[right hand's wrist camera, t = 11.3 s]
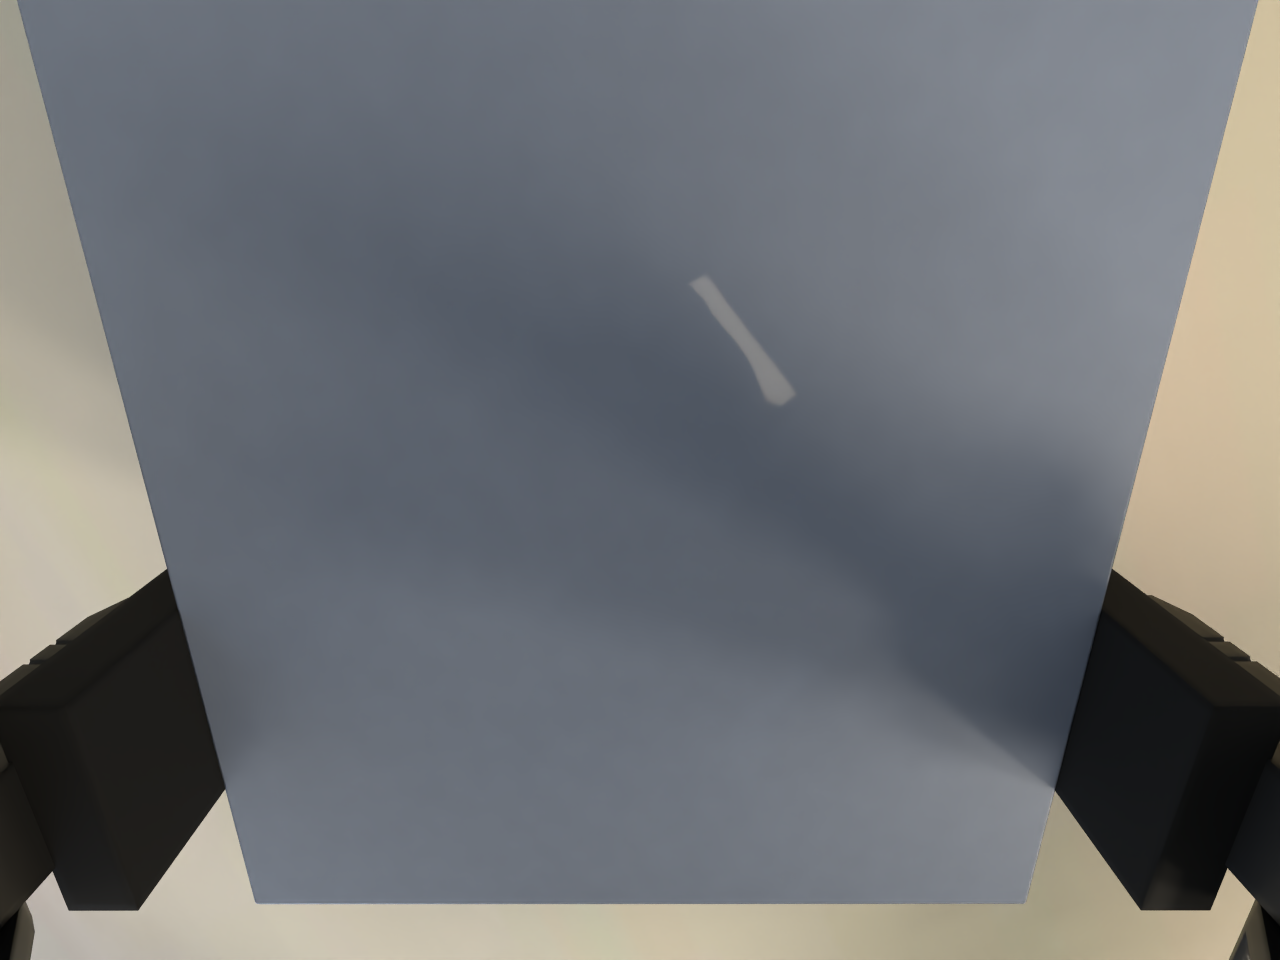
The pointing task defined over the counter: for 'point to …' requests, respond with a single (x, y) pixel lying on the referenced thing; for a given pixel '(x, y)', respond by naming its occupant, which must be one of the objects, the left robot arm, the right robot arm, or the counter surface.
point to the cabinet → (639, 416)
